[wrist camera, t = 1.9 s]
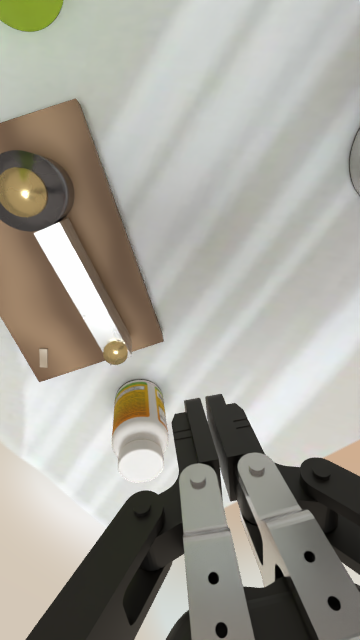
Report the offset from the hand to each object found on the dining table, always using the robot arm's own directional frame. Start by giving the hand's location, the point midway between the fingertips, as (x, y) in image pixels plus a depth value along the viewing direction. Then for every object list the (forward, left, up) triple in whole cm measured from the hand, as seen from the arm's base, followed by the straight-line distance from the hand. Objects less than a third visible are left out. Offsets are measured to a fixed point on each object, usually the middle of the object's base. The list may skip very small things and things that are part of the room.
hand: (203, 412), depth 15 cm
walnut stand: (+8, -6, -19) cm, 22 cm away
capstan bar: (+6, -5, -17) cm, 19 cm away
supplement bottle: (+7, +12, -19) cm, 23 cm away
